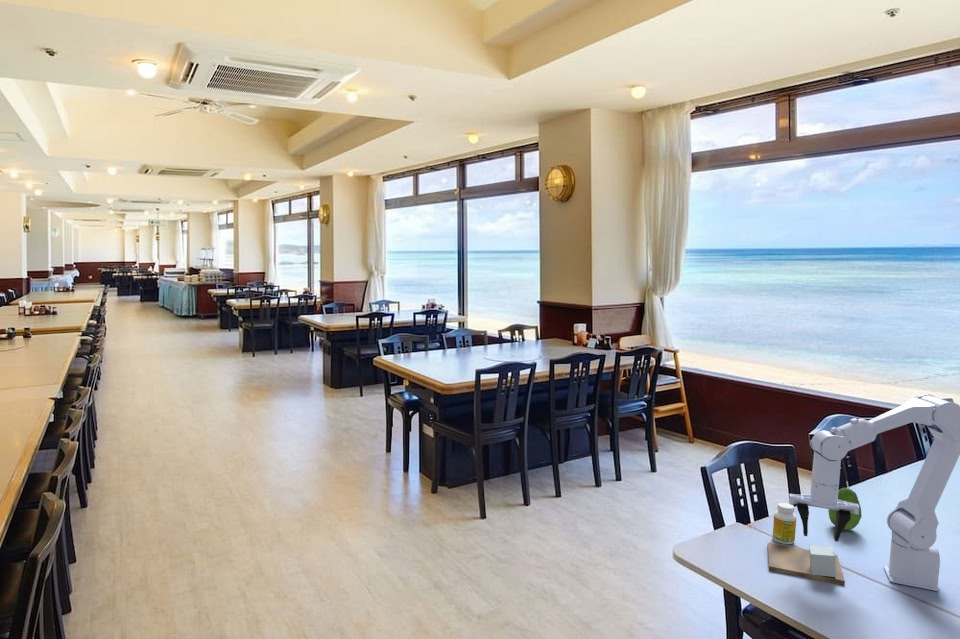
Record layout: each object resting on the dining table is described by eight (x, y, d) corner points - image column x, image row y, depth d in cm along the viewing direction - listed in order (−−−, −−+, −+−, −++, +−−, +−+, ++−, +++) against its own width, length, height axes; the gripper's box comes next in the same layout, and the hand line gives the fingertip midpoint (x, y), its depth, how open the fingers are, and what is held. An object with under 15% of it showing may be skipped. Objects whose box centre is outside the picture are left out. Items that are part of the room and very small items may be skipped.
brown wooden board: (837, 559, 159) (837, 555, 159) (844, 585, 146) (844, 581, 146) (767, 546, 165) (767, 542, 165) (768, 570, 152) (769, 566, 152)
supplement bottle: (782, 545, 166) (784, 510, 165) (767, 536, 171) (770, 502, 170) (799, 543, 167) (801, 508, 166) (784, 535, 172) (786, 500, 171)
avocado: (851, 537, 172) (855, 494, 171) (822, 527, 178) (825, 486, 177) (864, 530, 176) (868, 489, 175) (835, 520, 183) (839, 480, 182)
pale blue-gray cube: (833, 567, 151) (832, 547, 151) (836, 577, 146) (835, 556, 146) (810, 565, 153) (809, 545, 153) (812, 574, 148) (810, 554, 148)
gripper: (857, 481, 150) (852, 536, 151) (790, 472, 156) (786, 525, 157) (862, 491, 144) (857, 548, 145) (792, 481, 149) (787, 536, 151)
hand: (820, 537), depth 151 cm, fingers open, 6 cm apart
